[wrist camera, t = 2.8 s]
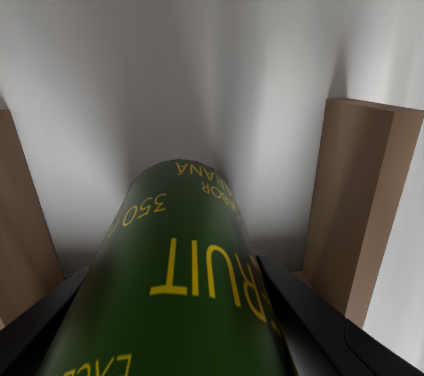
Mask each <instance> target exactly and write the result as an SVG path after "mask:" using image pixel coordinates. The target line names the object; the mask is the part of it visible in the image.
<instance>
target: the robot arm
mask: <svg viewBox="0 0 424 376" xmlns="http://www.w3.org/2000/svg"><path fill="white" fill-rule="evenodd" d="M256 258H257V261H258V264H259V267H260V269H261V272H262V275H263V278H264V280H265V283H266V286H267V289H268V292H269V294H270V297H271V300H272V303H273V305H274V308H275V311H276V314H277V316H278V319H279V322H280V325H281V328H282V330H283V333H284V336H285V339H286V341H287V344H288V347H289V350H290V352H291V355H292V358H293V361H294V364H295V366H296V369H297V372H298V375H299V376H424V373H423V372H421V371H420V370H418V369H417V368H415V367H414V366H412V365H411V364H410V363H408V362H407V361H405V360H404V359H402V358H401V357H399V356H398V355H396V354H395V353H394V352H392V351H391V350H389V349H388V348H387V347H385V346H384V345H382V344H381V343H379V342H378V341H377V340H375V339H374V338H373V337H371V336H370V335H369V334H367V333H366V332H365V331H364V330H362V329H361V328H360V327H358V326H357V325H356V324H355V323H353V322H352V321H351V320H350V319H348V318H346V316H344V315H343V314H342V313H341V312H339V311H338V310H337V309H336V308H334V307H333V306H332V305H331V304H329V303H328V302H327V301H326V300H324V299H323V298H322V297H321V296H319V295H318V294H317V293H316V292H314V291H313V290H312V289H311V288H309V287H308V286H307V285H306V284H304V283H303V282H302V281H301V280H299V279H298V278H297V277H296V276H294V275H293V274H292V273H291V272H289V271H288V270H287V269H286V268H284V267H283V266H282V265H281V264H279V263H278V262H277V261H276V260H274V259H273V258H272V257H271V256H269V255H267V254H262V255H257V256H256ZM89 268H90V267H83V268H81V269H80V270H78V271H77V272H76V273H74V274H73V275H72V276H70V277H69V278H68V279H67V280H65V281H64V282H63V283H61V284H60V285H59V286H57V287H56V288H55V289H53V290H52V291H51V292H50V293H48V294H47V295H46V296H44V297H43V298H42V299H40V300H39V301H38V302H37V303H35V304H34V305H33V306H31V307H30V308H29V309H27V310H26V311H25V312H24V313H22V314H21V315H20V316H18V317H17V318H16V319H14V320H13V321H12V322H10V323H9V324H8V325H7V326H5V327H4V328H3V329H1V330H0V376H35V374H36V372H37V370H38V368H39V366H40V364H41V363H42V361H43V359H44V357H45V355H46V353H47V351H48V349H49V347H50V345H51V343H52V341H53V339H54V337H55V335H56V333H57V331H58V329H59V327H60V325H61V323H62V321H63V319H64V317H65V315H66V313H67V312H68V310H69V308H70V306H71V304H72V302H73V300H74V298H75V296H76V294H77V292H78V290H79V288H80V286H81V284H82V282H83V280H84V278H85V276H86V274H87V272H88V270H89Z"/></svg>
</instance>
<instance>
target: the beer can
mask: <svg viewBox="0 0 424 376" xmlns="http://www.w3.org/2000/svg"><path fill="white" fill-rule="evenodd" d="M35 376H299V375H298V372H297V369H296V366H295V364H294V361H293V358H292V355H291V352H290V350H289V347H288V344H287V341H286V339H285V336H284V333H283V330H282V328H281V325H280V322H279V319H278V316H277V314H276V311H275V308H274V305H273V303H272V300H271V297H270V294H269V292H268V289H267V286H266V283H265V280H264V278H263V275H262V272H261V269H260V267H259V264H258V261H257V258H256V255H255V253H254V250H253V247H252V244H251V242H250V239H249V236H248V233H247V231H246V228H245V225H244V222H243V219H242V217H241V214H240V211H239V208H238V206H237V203H236V200H235V197H234V195H233V193H232V191H231V189H230V187H229V185H228V183H227V181H226V180H225V179H224V178H223V177H222V176H221V175H220V174H219V173H218V172H216V171H215V170H214V169H213V168H211V167H208V166H206V165H204V164H202V163H200V162H198V161H190V160H182V159H177V160H171V161H165V162H160V163H158V164H156V165H155V166H153V167H151V168H149V169H147V170H145V171H144V172H143V173H142V174H141V175H140V176H139V177H138V178H137V179H136V180H135V181H134V182H133V184H132V186H131V188H130V190H129V192H128V194H127V196H126V198H125V200H124V202H123V204H122V206H121V208H120V210H119V211H118V213H117V215H116V217H115V219H114V221H113V223H112V225H111V227H110V229H109V231H108V233H107V235H106V237H105V239H104V241H103V243H102V245H101V247H100V249H99V251H98V253H97V255H96V257H95V259H94V261H93V262H92V264H91V266H90V268H89V270H88V272H87V274H86V276H85V278H84V280H83V282H82V284H81V286H80V288H79V290H78V292H77V294H76V296H75V298H74V300H73V302H72V304H71V306H70V308H69V310H68V312H67V313H66V315H65V317H64V319H63V321H62V323H61V325H60V327H59V329H58V331H57V333H56V335H55V337H54V339H53V341H52V343H51V345H50V347H49V349H48V351H47V353H46V355H45V357H44V359H43V361H42V363H41V364H40V366H39V368H38V370H37V372H36V374H35Z"/></svg>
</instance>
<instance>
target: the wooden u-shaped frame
mask: <svg viewBox="0 0 424 376" xmlns="http://www.w3.org/2000/svg"><path fill="white" fill-rule="evenodd" d="M423 118H424V111H423V110H417V109H411V108H405V107H399V106H393V105H387V104H380V103H374V102H368V101H362V100H356V99H350V98H340V99H327V102H326V109H325V116H324V123H323V130H322V137H321V144H320V151H319V158H318V165H317V172H316V179H315V186H314V193H313V200H312V207H311V214H310V221H309V228H308V235H307V242H306V249H305V256H304V263H303V270H302V271H289V272H291V273H292V274H293V275H294V276H296V277H297V278H298V279H299V280H301V281H302V282H303V283H304V284H306V285H307V286H308V287H309V288H311V289H312V290H313V291H314V292H316V293H317V294H318V295H319V296H321V297H322V298H323V299H324V300H326V301H327V302H328V303H329V304H331V305H332V306H333V307H334V308H336V309H337V310H338V311H339V312H341V313H342V314H343V315H344V316H346V318H348V319H350V320H351V321H352V322H353V323H355V324H356V325H357V326H358V327H360V328H361V329H362V328H363V324H364V321H365V318H366V314H367V311H368V307H369V304H370V300H371V297H372V294H373V290H374V287H375V283H376V280H377V276H378V273H379V270H380V266H381V263H382V259H383V256H384V252H385V249H386V245H387V242H388V239H389V235H390V232H391V228H392V225H393V221H394V218H395V215H396V211H397V208H398V204H399V201H400V197H401V194H402V191H403V187H404V184H405V180H406V177H407V173H408V170H409V167H410V163H411V160H412V156H413V153H414V149H415V146H416V142H417V139H418V136H419V132H420V129H421V125H422V122H423ZM64 281H65V280H64V277H63V274H62V271H61V268H60V265H59V262H58V259H57V256H56V253H55V249H54V246H53V243H52V240H51V237H50V234H49V231H48V228H47V225H46V222H45V219H44V215H43V212H42V209H41V206H40V203H39V200H38V197H37V194H36V191H35V188H34V185H33V181H32V178H31V175H30V172H29V169H28V166H27V163H26V160H25V157H24V154H23V151H22V147H21V144H20V141H19V138H18V135H17V132H16V129H15V126H14V123H13V120H12V117H11V113H10V110H0V330H1V329H3V328H4V327H5V326H7V325H8V324H9V323H10V322H12V321H13V320H14V319H16V318H17V317H18V316H20V315H21V314H22V313H24V312H25V311H26V310H27V309H29V308H30V307H31V306H33V305H34V304H35V303H37V302H38V301H39V300H40V299H42V298H43V297H44V296H46V295H47V294H48V293H50V292H51V291H52V290H53V289H55V288H56V287H57V286H59V285H60V284H61V283H63V282H64Z"/></svg>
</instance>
